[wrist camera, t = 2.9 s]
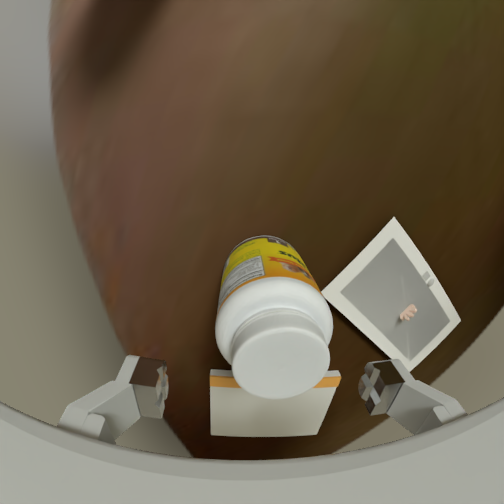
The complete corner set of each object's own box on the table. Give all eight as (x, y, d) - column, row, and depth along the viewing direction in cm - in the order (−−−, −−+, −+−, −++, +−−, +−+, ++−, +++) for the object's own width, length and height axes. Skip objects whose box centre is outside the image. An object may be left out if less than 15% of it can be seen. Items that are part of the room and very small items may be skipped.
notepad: (338, 370, 24) (341, 377, 23) (315, 429, 27) (316, 435, 26) (210, 369, 23) (209, 376, 22) (211, 429, 26) (210, 436, 25)
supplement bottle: (314, 281, 20) (366, 375, 11) (250, 317, 21) (257, 425, 12) (277, 217, 19) (315, 280, 9) (207, 259, 20) (181, 352, 10)
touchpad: (403, 367, 25) (411, 380, 23) (316, 286, 21) (323, 300, 19) (455, 315, 23) (466, 325, 21) (387, 213, 20) (401, 220, 17)
